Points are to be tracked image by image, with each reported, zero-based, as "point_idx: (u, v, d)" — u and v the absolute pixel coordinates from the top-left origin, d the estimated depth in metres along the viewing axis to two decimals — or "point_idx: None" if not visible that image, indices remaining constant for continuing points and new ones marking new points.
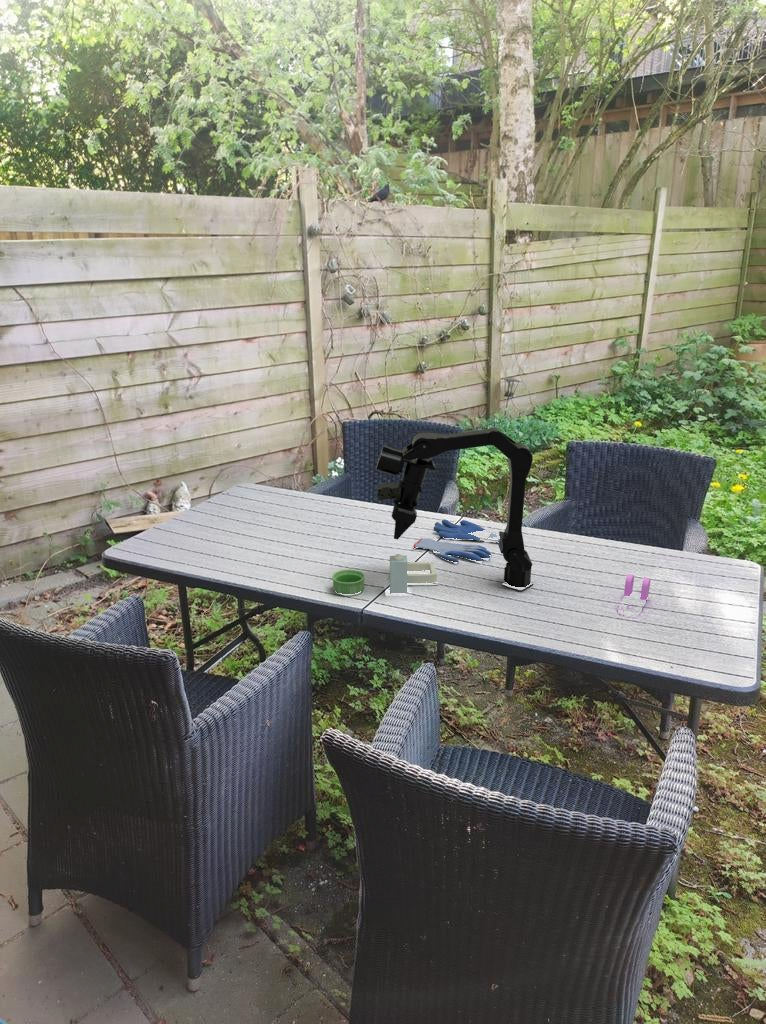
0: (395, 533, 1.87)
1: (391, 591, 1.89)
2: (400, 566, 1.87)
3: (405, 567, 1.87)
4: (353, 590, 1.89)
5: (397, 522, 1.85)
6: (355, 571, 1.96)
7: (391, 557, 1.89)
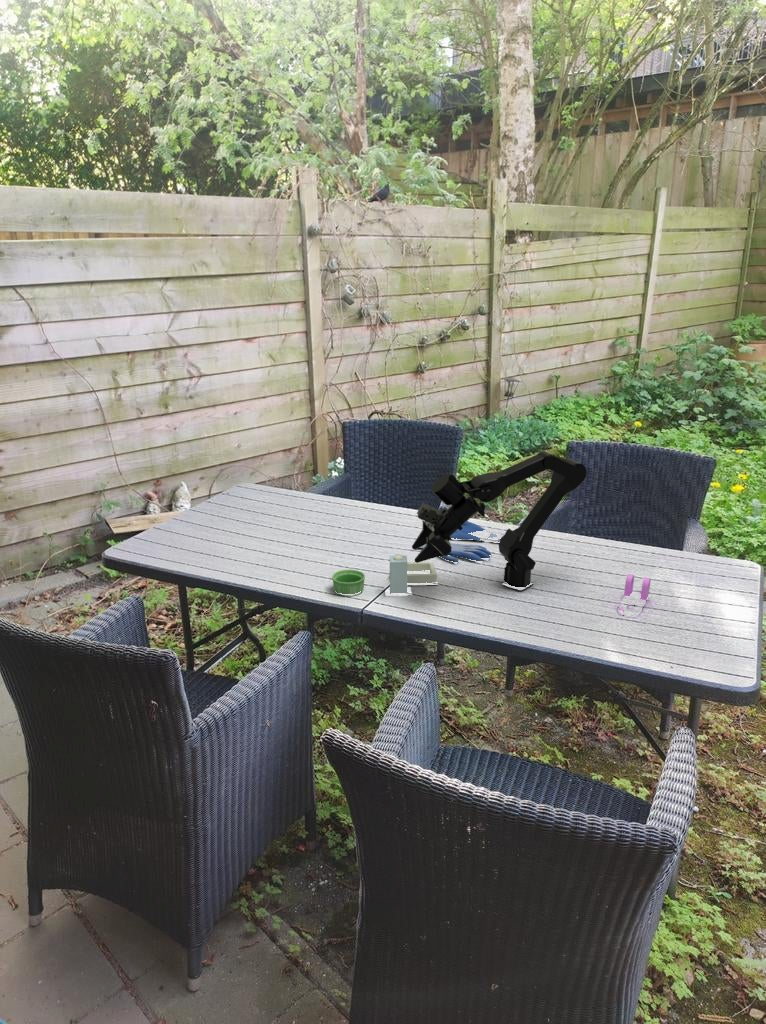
0: (419, 556, 1.83)
1: (391, 591, 1.89)
2: (400, 566, 1.87)
3: (405, 567, 1.87)
4: (353, 590, 1.89)
5: (428, 548, 1.81)
6: (355, 571, 1.96)
7: (391, 557, 1.89)
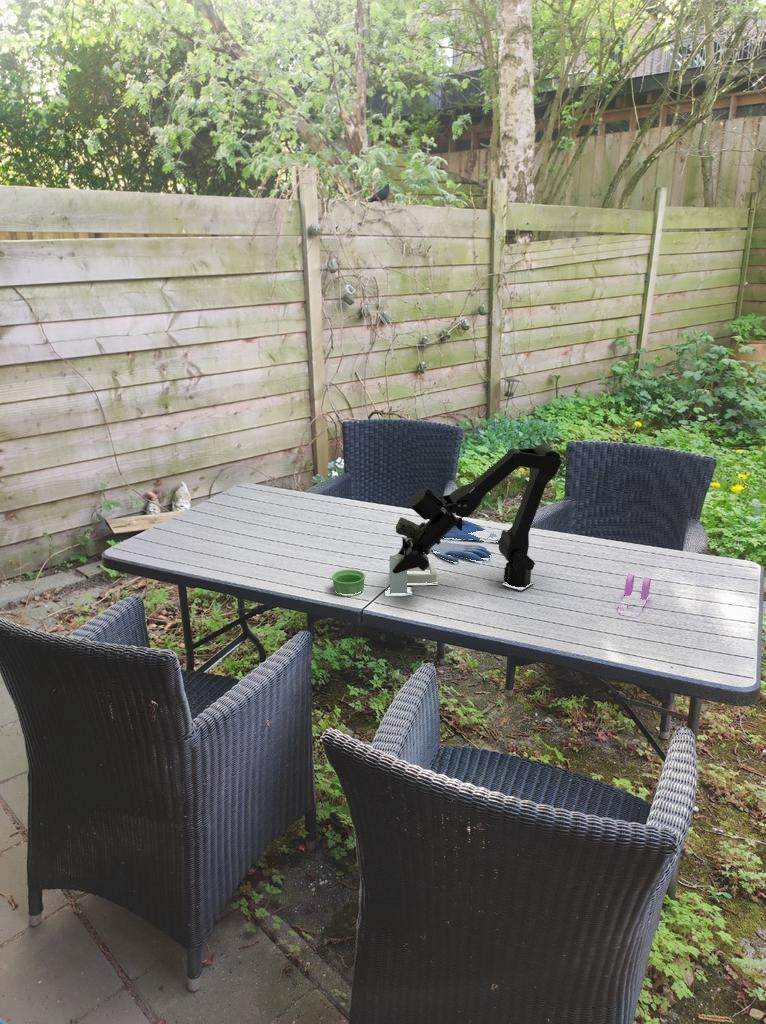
0: (396, 567, 1.86)
1: (391, 591, 1.89)
2: None
3: None
4: (353, 590, 1.89)
5: (405, 559, 1.84)
6: (355, 571, 1.96)
7: (391, 557, 1.89)
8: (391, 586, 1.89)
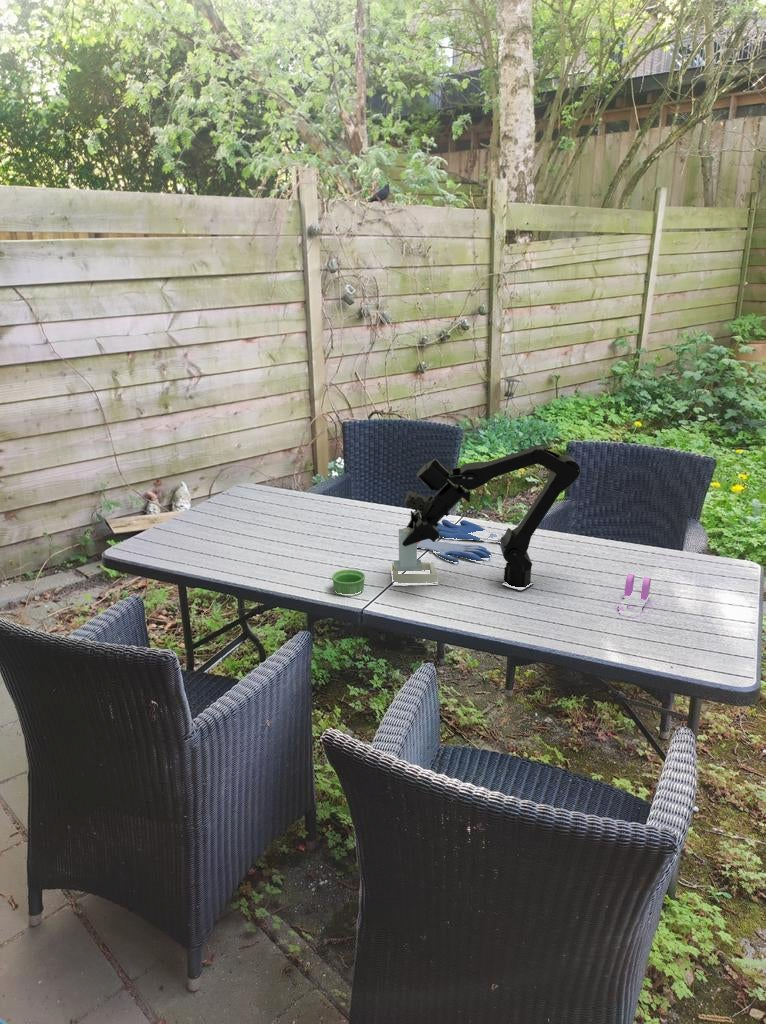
0: (406, 540, 1.88)
1: (401, 564, 1.91)
2: None
3: None
4: (353, 590, 1.89)
5: (415, 531, 1.87)
6: (355, 571, 1.96)
7: (400, 531, 1.92)
8: (401, 559, 1.91)
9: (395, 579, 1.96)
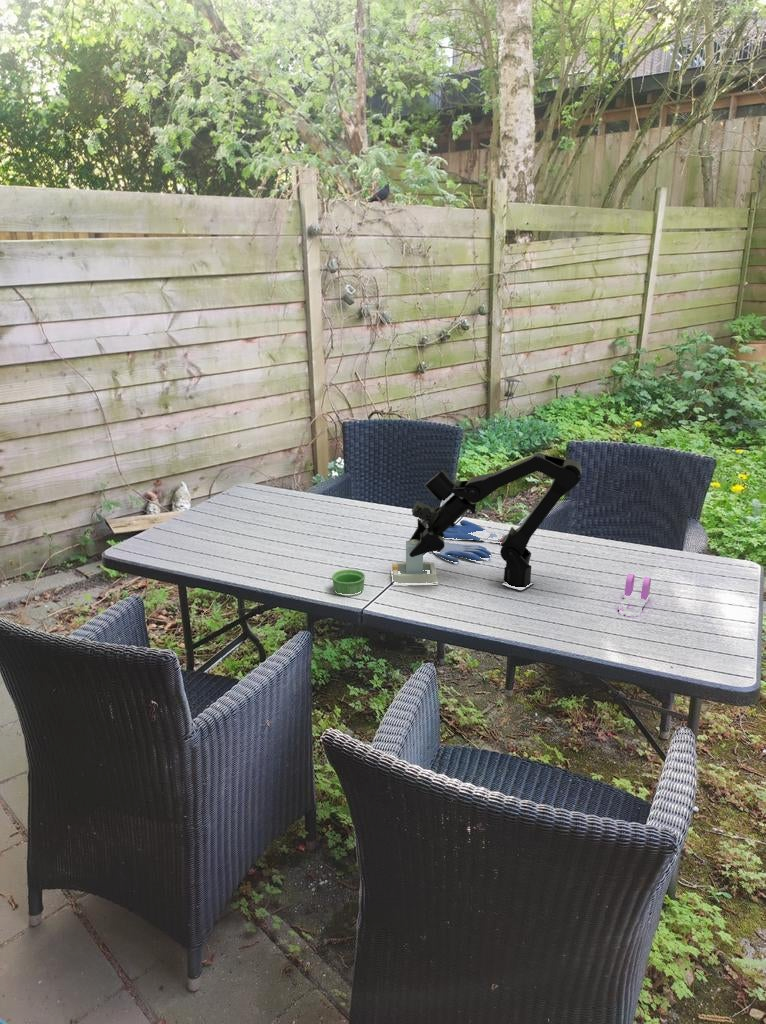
0: (413, 551, 1.93)
1: None
2: None
3: None
4: (353, 590, 1.89)
5: (422, 543, 1.91)
6: (355, 571, 1.96)
7: (407, 542, 1.98)
8: (407, 570, 1.97)
9: (395, 579, 1.96)
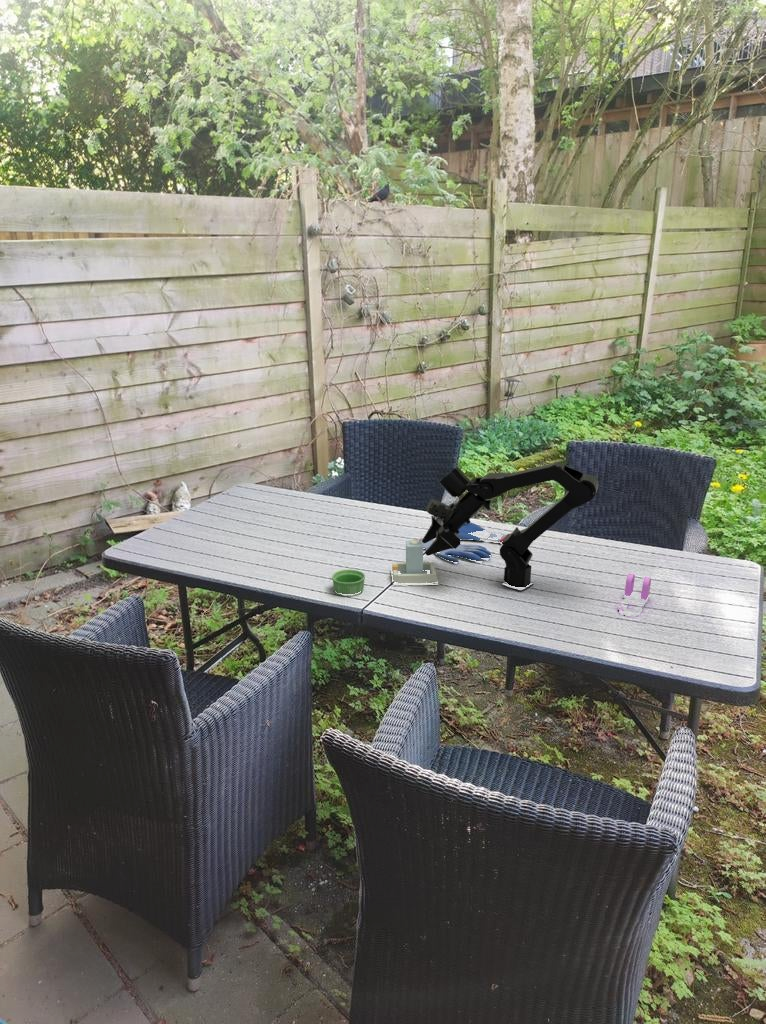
0: (429, 549, 1.92)
1: None
2: (416, 550, 1.95)
3: (421, 551, 1.96)
4: (353, 590, 1.89)
5: (438, 541, 1.90)
6: (355, 571, 1.96)
7: (407, 542, 1.98)
8: (407, 570, 1.97)
9: (395, 579, 1.96)
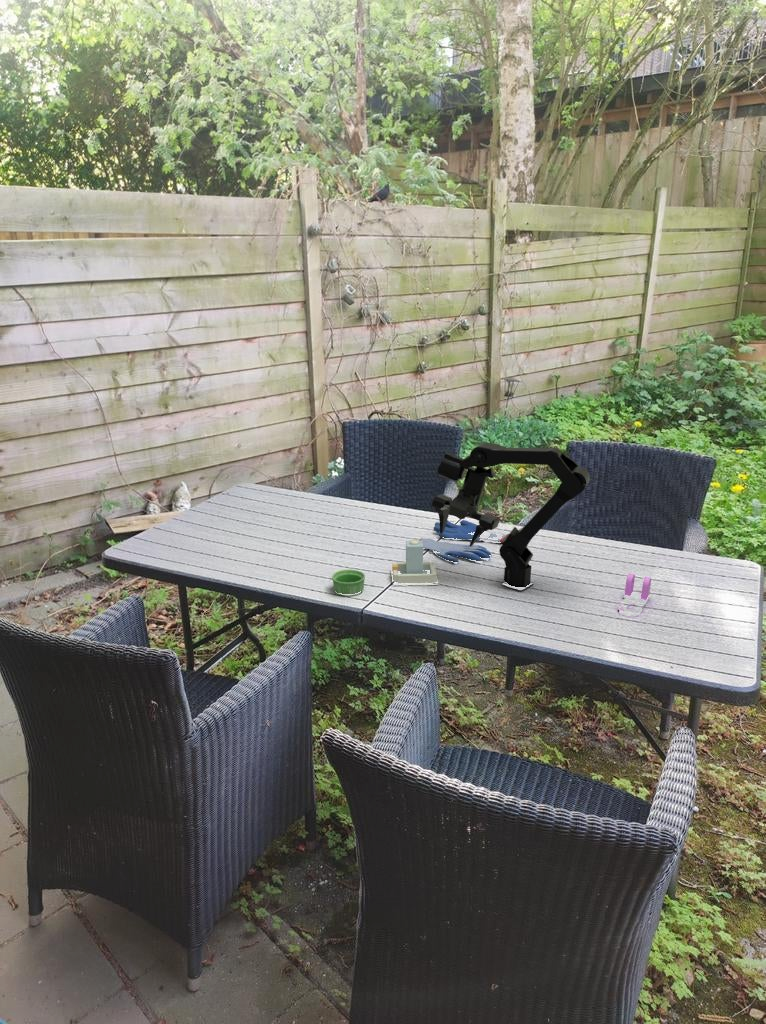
0: (474, 541, 1.94)
1: None
2: (416, 550, 1.95)
3: (421, 551, 1.96)
4: (353, 590, 1.89)
5: None
6: (355, 571, 1.96)
7: (407, 542, 1.98)
8: (407, 570, 1.97)
9: (395, 579, 1.96)
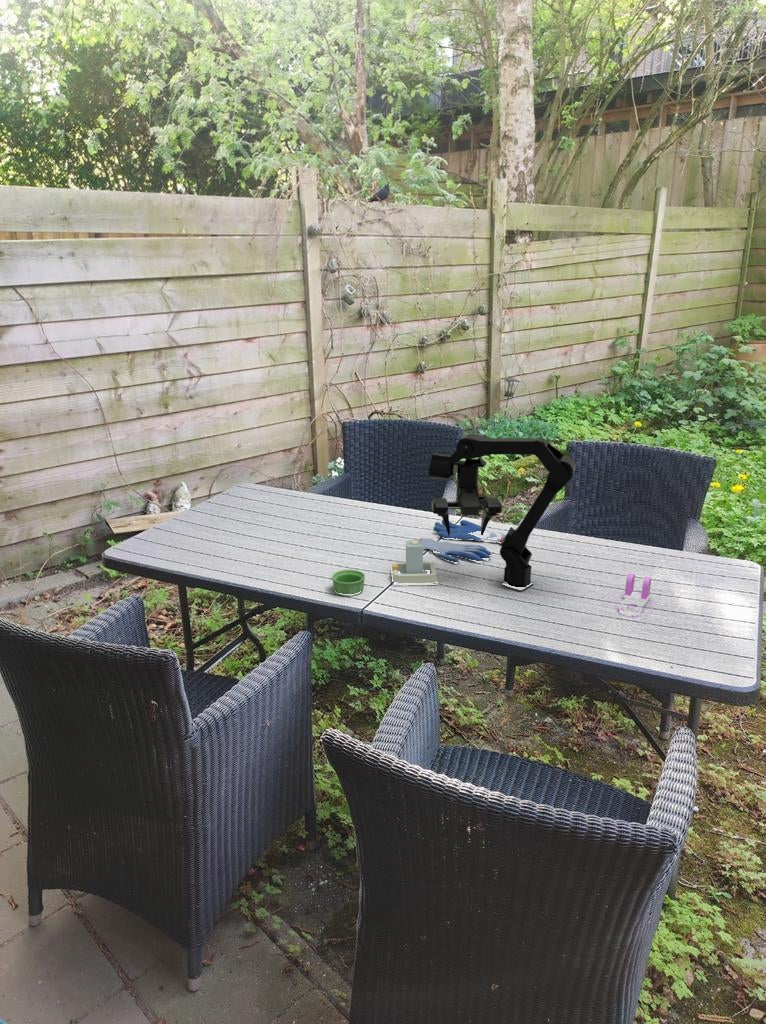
0: None
1: None
2: (416, 550, 1.95)
3: (421, 551, 1.96)
4: (353, 590, 1.89)
5: None
6: (355, 571, 1.96)
7: (407, 542, 1.98)
8: (407, 570, 1.97)
9: (395, 579, 1.96)
